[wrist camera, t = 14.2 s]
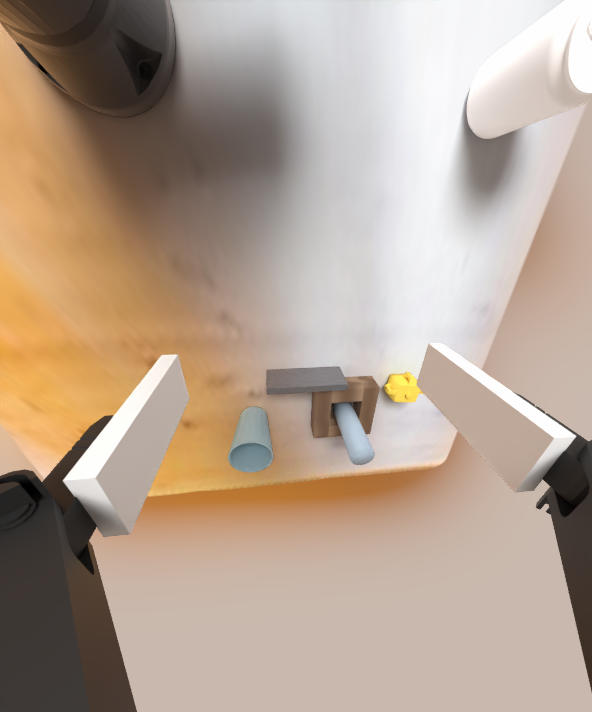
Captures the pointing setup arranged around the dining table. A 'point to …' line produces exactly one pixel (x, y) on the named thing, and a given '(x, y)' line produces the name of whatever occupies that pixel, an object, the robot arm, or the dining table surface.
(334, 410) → the peg
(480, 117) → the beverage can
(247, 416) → the cup
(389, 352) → the dining table surface
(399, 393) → the teapot
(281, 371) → the rail
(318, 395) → the socket block
